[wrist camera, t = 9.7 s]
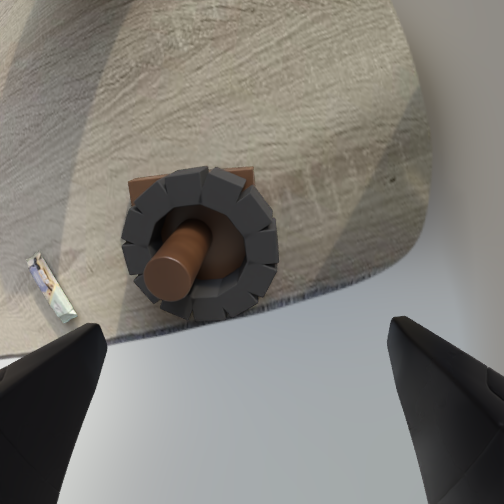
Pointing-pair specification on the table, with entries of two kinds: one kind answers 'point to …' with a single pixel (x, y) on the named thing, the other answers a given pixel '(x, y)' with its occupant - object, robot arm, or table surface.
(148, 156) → the table surface
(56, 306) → the granola bar
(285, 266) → the table surface
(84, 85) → the table surface
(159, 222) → the chunky treaded tire
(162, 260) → the stand
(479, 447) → the robot arm
